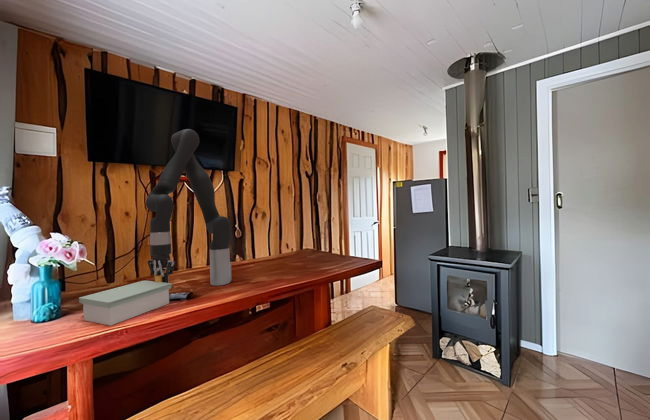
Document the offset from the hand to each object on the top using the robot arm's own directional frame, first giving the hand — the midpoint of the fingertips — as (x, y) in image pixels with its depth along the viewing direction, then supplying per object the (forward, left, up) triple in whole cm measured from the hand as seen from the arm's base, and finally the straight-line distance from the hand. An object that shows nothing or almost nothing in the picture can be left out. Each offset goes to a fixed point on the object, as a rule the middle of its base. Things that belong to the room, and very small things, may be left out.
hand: (161, 284), depth 113 cm
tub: (+13, 0, -6) cm, 15 cm away
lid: (+11, 0, 0) cm, 11 cm away
